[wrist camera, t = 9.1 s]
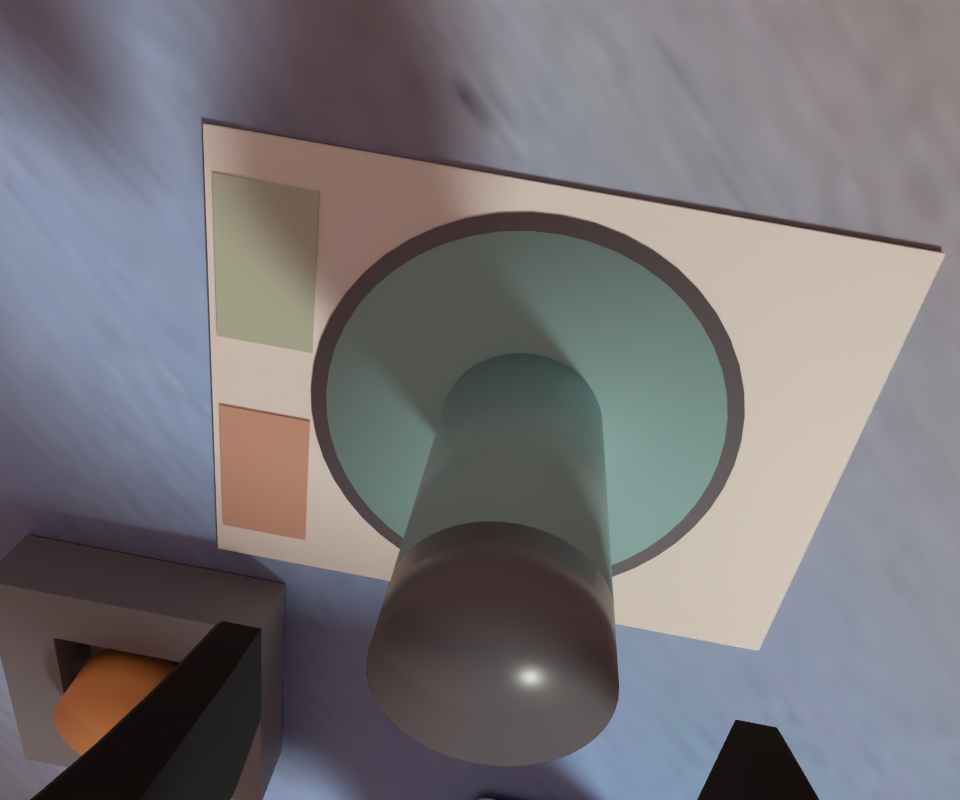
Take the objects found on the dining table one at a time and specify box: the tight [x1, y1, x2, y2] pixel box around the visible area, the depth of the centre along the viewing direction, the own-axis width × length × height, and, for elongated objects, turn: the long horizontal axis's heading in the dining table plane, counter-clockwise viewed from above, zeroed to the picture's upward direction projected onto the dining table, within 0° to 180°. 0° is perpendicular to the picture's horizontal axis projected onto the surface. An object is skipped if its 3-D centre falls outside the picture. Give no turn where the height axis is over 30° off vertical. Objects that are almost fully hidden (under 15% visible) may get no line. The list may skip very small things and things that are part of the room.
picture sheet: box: [203, 123, 945, 651], centre depth 19 cm, size 12×16×1 cm
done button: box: [53, 648, 176, 756], centre depth 23 cm, size 4×4×2 cm
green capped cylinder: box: [367, 353, 619, 767], centre depth 15 cm, size 4×4×8 cm
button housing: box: [0, 535, 285, 800], centre depth 24 cm, size 8×8×2 cm
